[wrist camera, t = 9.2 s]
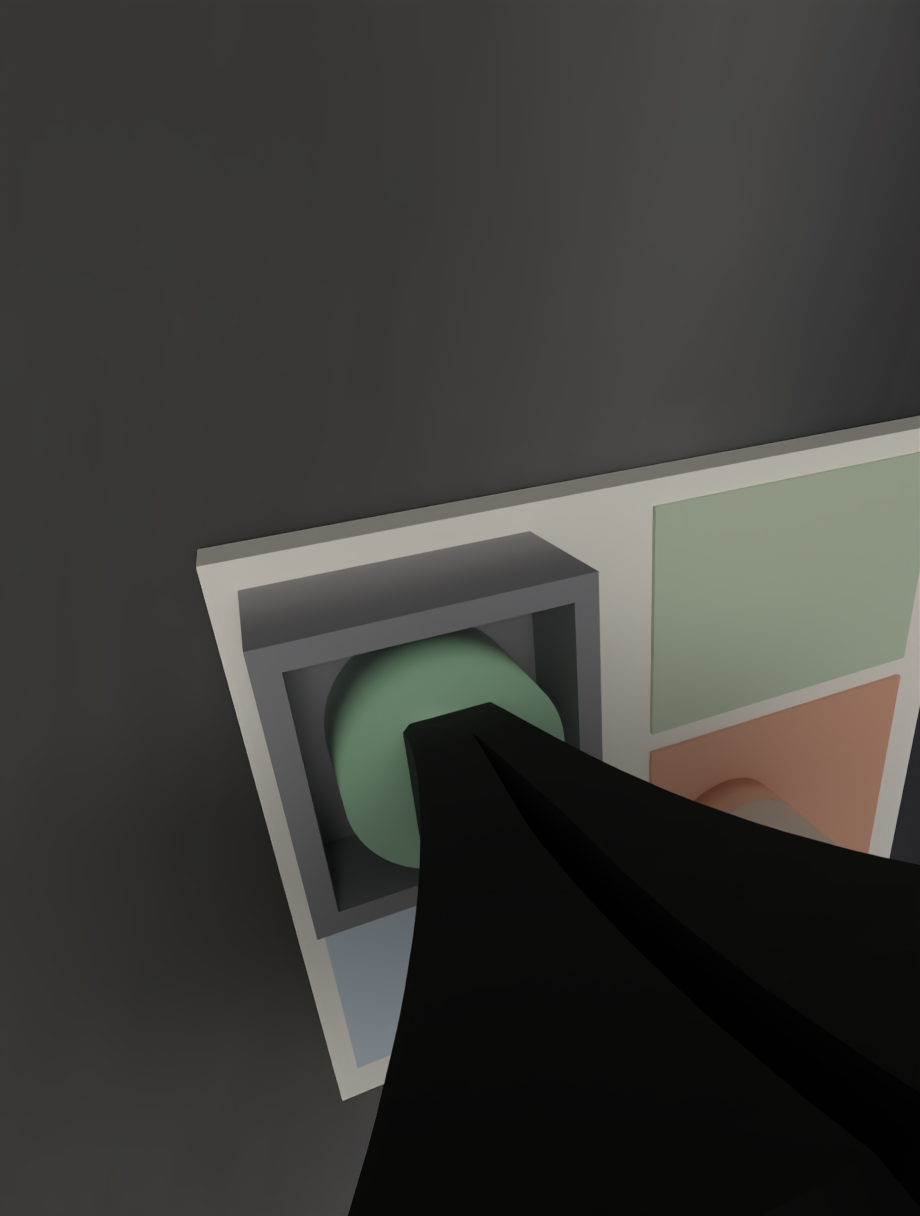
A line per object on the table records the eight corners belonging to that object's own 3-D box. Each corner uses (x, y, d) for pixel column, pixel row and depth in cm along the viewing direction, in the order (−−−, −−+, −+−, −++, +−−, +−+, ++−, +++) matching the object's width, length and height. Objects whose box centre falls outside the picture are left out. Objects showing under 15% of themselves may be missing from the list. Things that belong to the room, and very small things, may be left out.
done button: (510, 598, 11) (560, 641, 9) (523, 767, 12) (569, 828, 11) (305, 646, 10) (321, 701, 9) (342, 821, 11) (363, 898, 10)
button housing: (529, 530, 12) (598, 571, 10) (544, 764, 14) (603, 840, 12) (237, 590, 10) (243, 652, 8) (300, 839, 12) (317, 940, 10)
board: (932, 413, 15) (981, 417, 14) (856, 853, 20) (888, 878, 19) (197, 549, 11) (195, 568, 10) (335, 1059, 16) (343, 1105, 15)
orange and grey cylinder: (782, 759, 16) (1141, 1020, 10) (770, 861, 17) (1081, 1151, 11) (667, 797, 15) (979, 1110, 9) (663, 902, 16) (934, 1239, 10)
